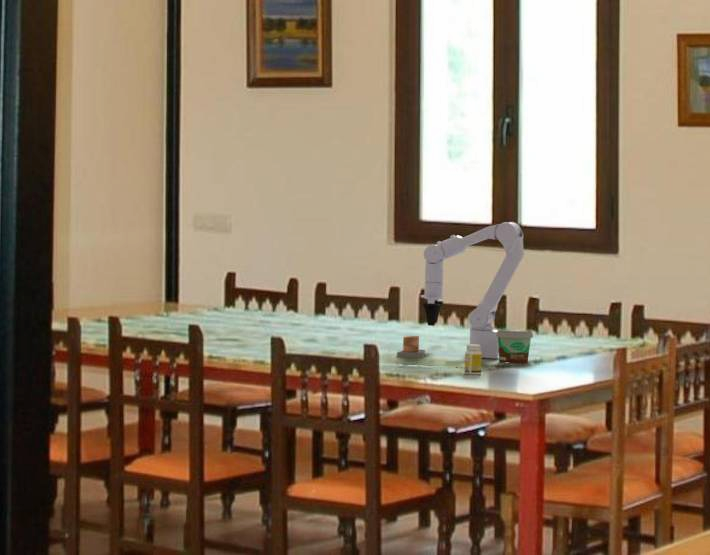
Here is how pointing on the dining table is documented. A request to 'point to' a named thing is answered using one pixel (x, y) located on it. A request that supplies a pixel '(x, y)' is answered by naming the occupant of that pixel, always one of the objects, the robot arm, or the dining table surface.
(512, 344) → the food container
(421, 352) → the slate top slab
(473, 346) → the supplement bottle
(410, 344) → the terracotta cube
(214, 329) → the dining table surface
